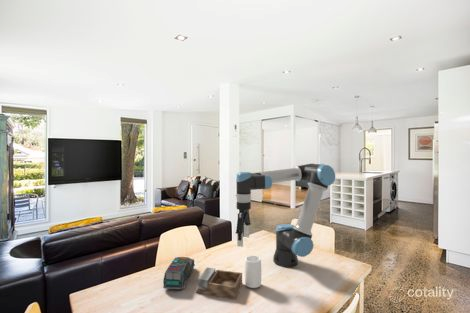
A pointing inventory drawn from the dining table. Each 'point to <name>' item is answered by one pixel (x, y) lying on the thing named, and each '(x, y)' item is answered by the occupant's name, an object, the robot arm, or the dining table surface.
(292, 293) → the dining table surface
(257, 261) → the cup
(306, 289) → the dining table surface
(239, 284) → the wooden open tray
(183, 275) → the toy van
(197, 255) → the dining table surface
